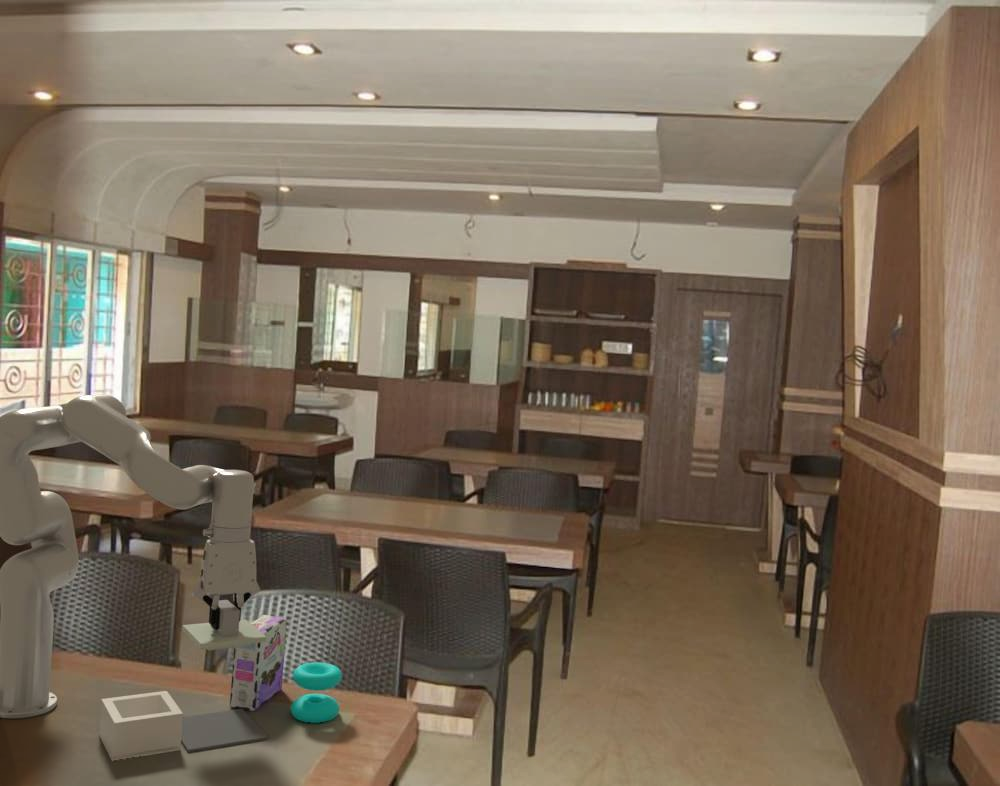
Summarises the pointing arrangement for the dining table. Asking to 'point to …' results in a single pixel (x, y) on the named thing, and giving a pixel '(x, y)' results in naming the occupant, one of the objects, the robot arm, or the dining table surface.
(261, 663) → the candy box
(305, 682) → the donuts
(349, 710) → the dining table surface
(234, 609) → the lid
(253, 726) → the rubber mat
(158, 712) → the storage box
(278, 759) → the dining table surface
